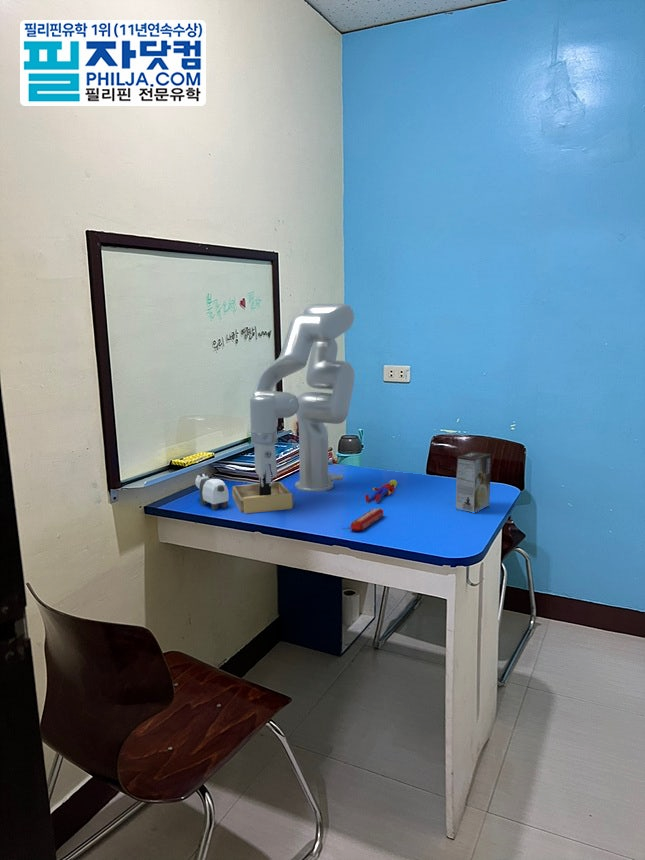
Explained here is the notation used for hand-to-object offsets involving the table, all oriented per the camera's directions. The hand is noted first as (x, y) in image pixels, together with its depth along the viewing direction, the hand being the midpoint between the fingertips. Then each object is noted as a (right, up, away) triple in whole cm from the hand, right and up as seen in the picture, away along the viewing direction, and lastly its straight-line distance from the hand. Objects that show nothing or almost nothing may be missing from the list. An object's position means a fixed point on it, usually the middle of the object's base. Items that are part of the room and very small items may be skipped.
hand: (265, 498), depth 186 cm
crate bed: (-2, -2, +6) cm, 6 cm away
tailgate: (+1, -3, -3) cm, 4 cm away
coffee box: (+61, -3, 0) cm, 61 cm away
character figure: (+36, -1, +15) cm, 39 cm away
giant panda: (-17, -3, +4) cm, 17 cm away
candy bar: (+29, -6, -12) cm, 32 cm away
